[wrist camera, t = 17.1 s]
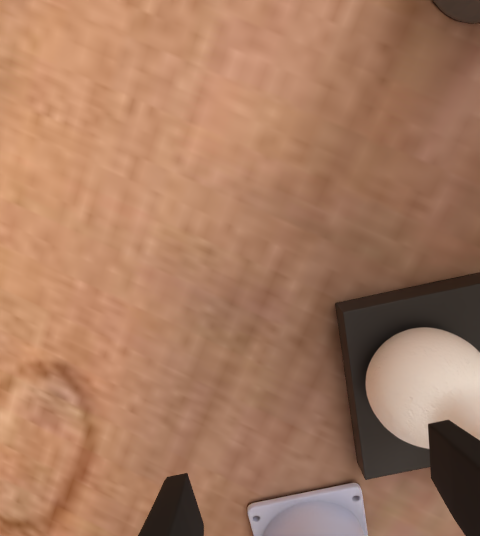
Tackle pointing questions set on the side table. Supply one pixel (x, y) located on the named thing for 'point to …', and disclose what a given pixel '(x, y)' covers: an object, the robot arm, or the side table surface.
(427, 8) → the side table surface
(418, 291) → the scale
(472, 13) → the bottle
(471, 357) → the garlic bulb
